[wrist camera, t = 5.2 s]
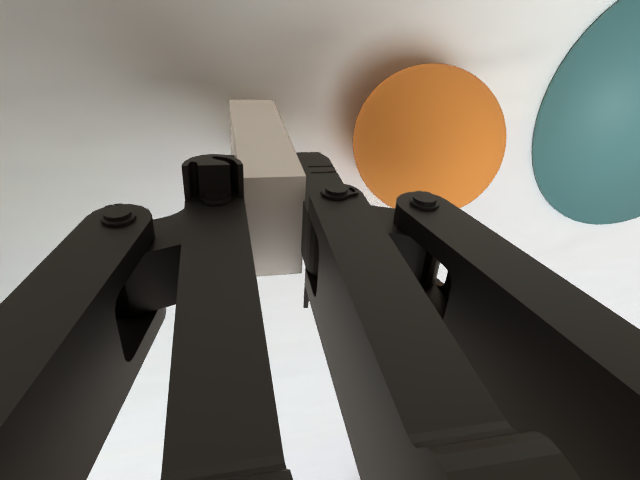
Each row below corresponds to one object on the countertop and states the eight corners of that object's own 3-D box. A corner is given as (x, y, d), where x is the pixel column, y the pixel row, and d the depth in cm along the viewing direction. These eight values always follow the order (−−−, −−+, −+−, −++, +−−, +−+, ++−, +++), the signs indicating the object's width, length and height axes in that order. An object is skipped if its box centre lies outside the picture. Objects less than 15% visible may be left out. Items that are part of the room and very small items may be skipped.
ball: (553, 183, 17) (462, 134, 21) (526, 46, 13) (425, 20, 18) (428, 270, 17) (364, 202, 21) (369, 155, 13) (307, 102, 18)
